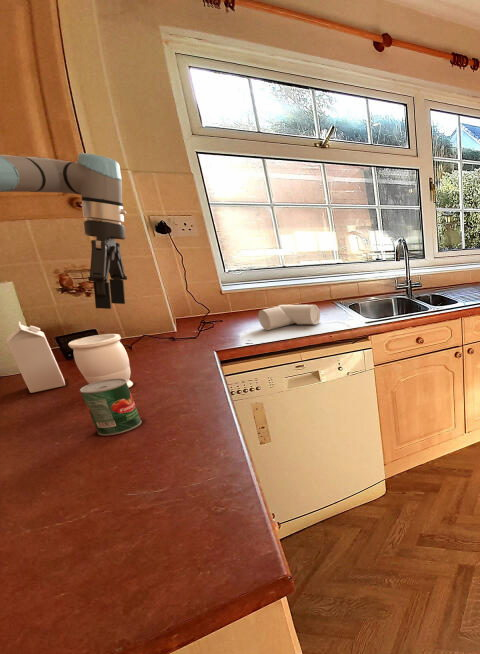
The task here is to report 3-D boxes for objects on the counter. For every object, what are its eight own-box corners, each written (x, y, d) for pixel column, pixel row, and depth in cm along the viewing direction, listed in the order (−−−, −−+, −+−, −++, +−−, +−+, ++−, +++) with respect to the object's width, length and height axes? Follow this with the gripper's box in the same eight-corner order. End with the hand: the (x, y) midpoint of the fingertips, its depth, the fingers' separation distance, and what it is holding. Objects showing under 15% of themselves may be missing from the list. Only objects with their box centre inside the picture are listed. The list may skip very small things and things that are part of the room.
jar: (123, 379, 127) (105, 331, 121) (146, 384, 124) (128, 335, 118) (80, 394, 118) (58, 342, 112) (103, 399, 114) (82, 346, 109)
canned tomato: (100, 425, 101) (82, 383, 97) (142, 416, 105) (127, 375, 101) (95, 439, 95) (76, 395, 91) (141, 428, 99) (124, 386, 95)
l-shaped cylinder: (301, 314, 193) (257, 324, 177) (299, 292, 188) (254, 301, 173) (326, 328, 186) (283, 340, 170) (325, 305, 181) (281, 316, 165)
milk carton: (30, 393, 118) (-1, 328, 111) (30, 386, 123) (0, 323, 116) (65, 386, 123) (38, 323, 116) (64, 379, 127) (37, 318, 120)
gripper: (110, 220, 98) (117, 311, 102) (135, 227, 119) (140, 302, 123) (65, 215, 94) (74, 309, 99) (99, 222, 115) (106, 300, 119)
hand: (111, 306), depth 111 cm, fingers open, 13 cm apart
